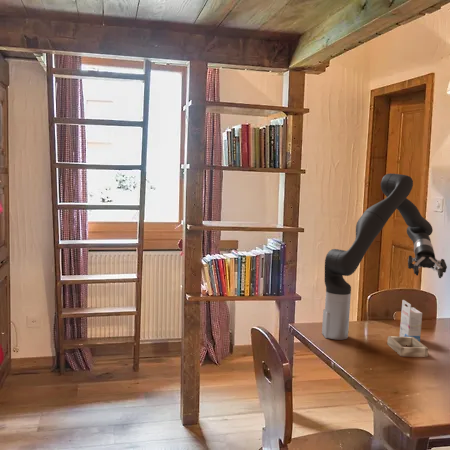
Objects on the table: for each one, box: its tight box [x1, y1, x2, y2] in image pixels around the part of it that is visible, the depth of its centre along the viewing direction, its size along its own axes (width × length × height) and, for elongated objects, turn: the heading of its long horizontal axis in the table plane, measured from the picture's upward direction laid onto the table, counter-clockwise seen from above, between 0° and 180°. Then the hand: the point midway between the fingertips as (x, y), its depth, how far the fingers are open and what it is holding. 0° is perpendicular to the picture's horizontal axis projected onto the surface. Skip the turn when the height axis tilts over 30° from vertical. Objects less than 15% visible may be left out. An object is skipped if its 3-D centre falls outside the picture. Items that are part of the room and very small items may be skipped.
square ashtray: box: [386, 335, 429, 358], centre depth 180 cm, size 10×12×3 cm
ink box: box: [399, 299, 423, 343], centre depth 191 cm, size 8×5×15 cm, turn 2°
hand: (429, 275), depth 196 cm, fingers open, 8 cm apart
